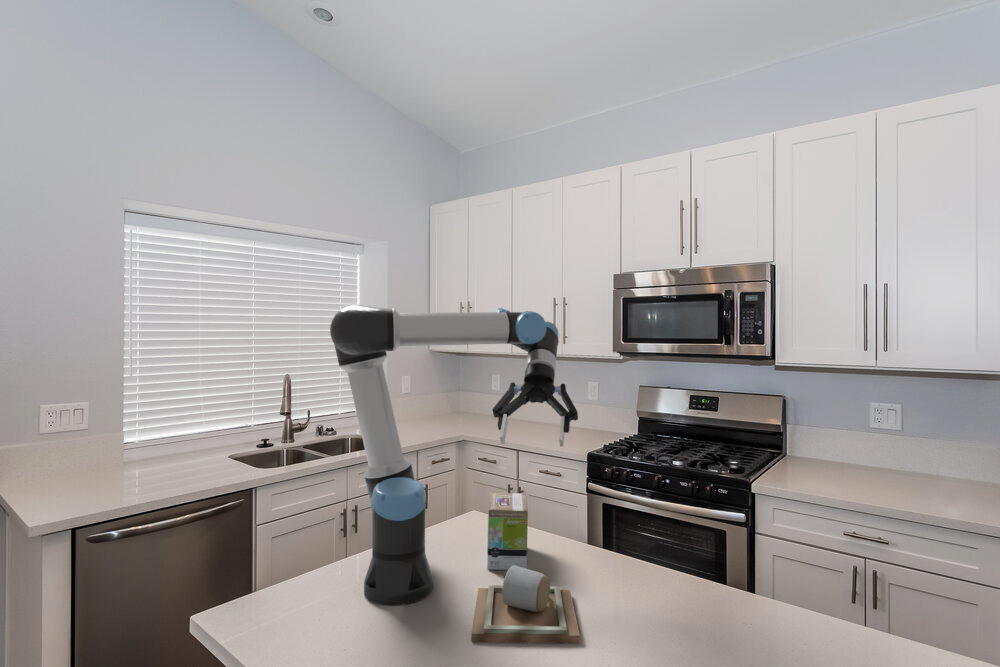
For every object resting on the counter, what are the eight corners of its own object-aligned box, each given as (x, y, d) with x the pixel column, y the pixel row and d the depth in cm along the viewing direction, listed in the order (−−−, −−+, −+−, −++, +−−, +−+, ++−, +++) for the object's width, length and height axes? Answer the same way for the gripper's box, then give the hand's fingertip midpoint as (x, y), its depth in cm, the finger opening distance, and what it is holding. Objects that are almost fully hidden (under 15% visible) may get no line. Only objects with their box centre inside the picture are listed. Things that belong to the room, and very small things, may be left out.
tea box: (528, 571, 130) (528, 509, 130) (486, 570, 131) (486, 509, 131) (526, 546, 145) (526, 491, 146) (488, 546, 146) (488, 491, 146)
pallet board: (471, 641, 100) (471, 629, 100) (478, 594, 118) (478, 584, 118) (579, 643, 100) (579, 631, 100) (570, 596, 118) (570, 586, 118)
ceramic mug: (539, 620, 105) (539, 580, 105) (501, 611, 108) (501, 572, 108) (556, 597, 114) (557, 560, 115) (521, 589, 118) (521, 554, 118)
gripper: (590, 381, 137) (587, 453, 123) (494, 380, 143) (480, 448, 128) (589, 362, 132) (586, 434, 118) (490, 360, 137) (475, 430, 123)
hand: (531, 441), depth 123 cm, fingers open, 13 cm apart
